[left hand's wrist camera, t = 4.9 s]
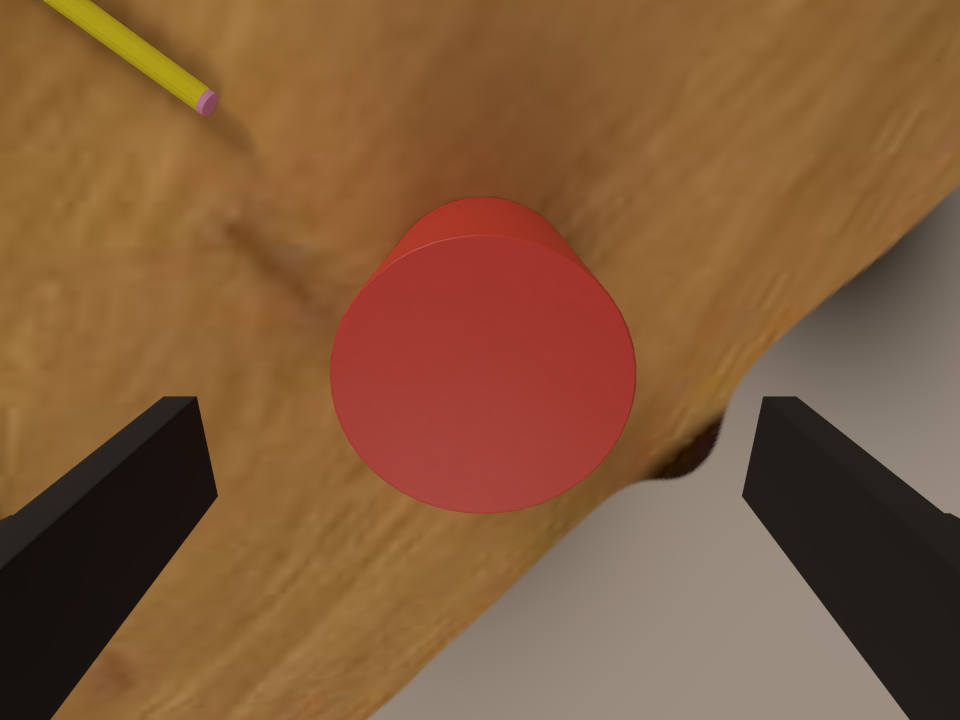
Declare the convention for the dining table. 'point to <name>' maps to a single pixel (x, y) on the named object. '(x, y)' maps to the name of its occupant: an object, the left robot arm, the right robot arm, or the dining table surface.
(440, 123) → the dining table surface
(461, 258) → the canister
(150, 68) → the pencil
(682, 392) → the dining table surface
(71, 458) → the dining table surface
